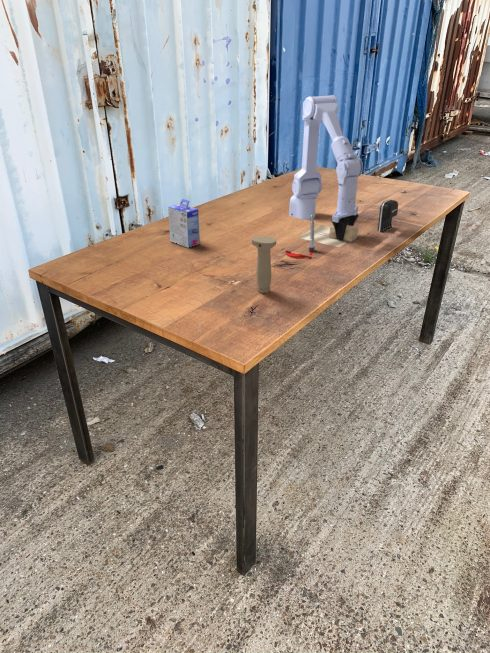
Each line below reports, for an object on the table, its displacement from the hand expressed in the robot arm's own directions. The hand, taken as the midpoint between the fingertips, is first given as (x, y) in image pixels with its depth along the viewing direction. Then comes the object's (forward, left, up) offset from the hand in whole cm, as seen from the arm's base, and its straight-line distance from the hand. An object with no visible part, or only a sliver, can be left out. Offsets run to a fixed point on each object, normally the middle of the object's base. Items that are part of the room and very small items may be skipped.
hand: (343, 237), depth 169 cm
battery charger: (+9, +16, -2) cm, 18 cm away
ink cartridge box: (-43, -31, -2) cm, 53 cm away
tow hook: (-6, -17, -2) cm, 18 cm away
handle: (0, -46, -2) cm, 46 cm away
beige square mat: (-5, 0, -2) cm, 6 cm away
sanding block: (0, 0, 0) cm, 0 cm away
